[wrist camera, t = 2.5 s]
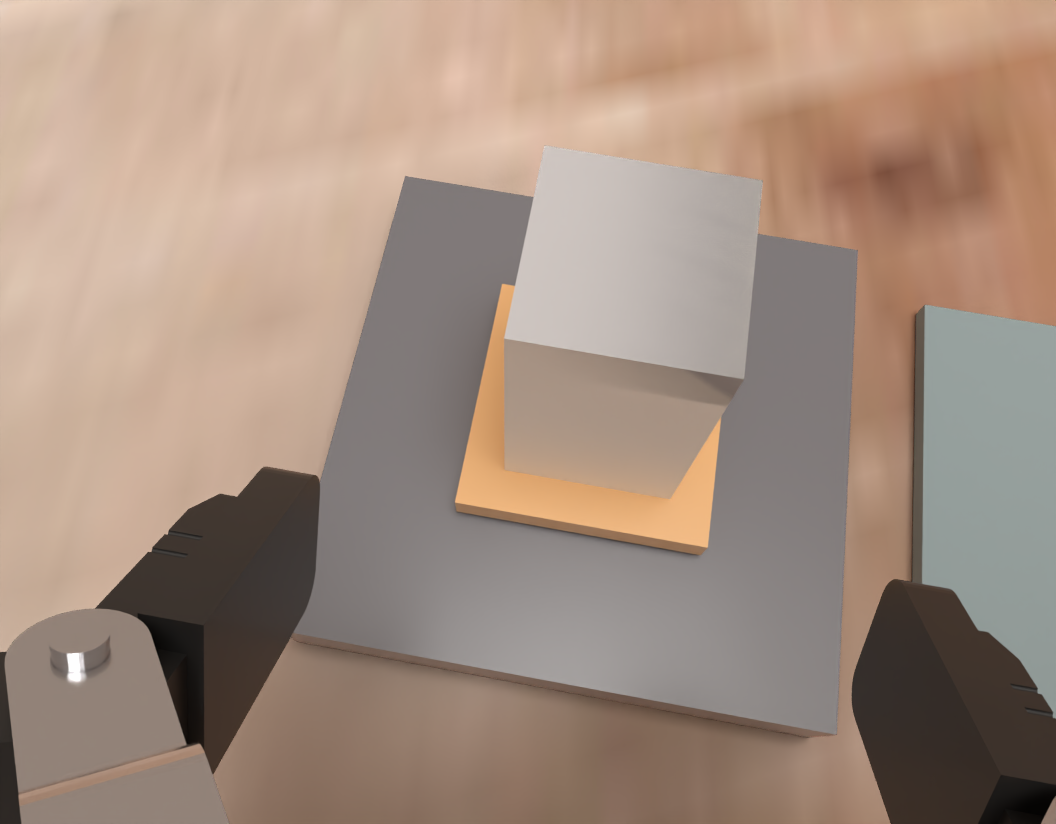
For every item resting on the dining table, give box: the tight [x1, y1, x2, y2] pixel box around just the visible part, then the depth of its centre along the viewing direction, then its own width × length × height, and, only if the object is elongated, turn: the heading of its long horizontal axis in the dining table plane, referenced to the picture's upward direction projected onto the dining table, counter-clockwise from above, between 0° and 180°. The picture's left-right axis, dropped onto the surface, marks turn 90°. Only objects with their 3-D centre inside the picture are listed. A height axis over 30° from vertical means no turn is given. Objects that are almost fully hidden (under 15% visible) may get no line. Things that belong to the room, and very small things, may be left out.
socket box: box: [291, 176, 858, 737], centre depth 24 cm, size 13×13×2 cm
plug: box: [455, 146, 763, 555], centre depth 20 cm, size 6×6×10 cm
